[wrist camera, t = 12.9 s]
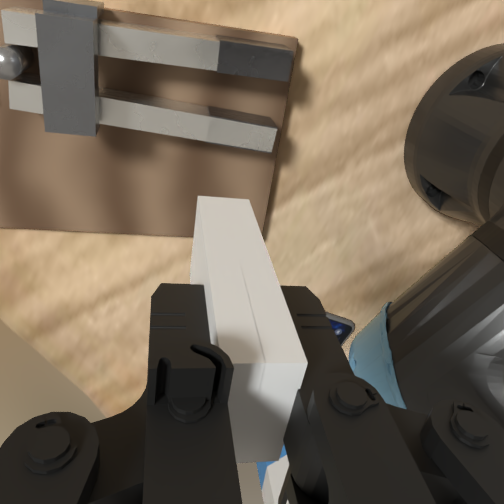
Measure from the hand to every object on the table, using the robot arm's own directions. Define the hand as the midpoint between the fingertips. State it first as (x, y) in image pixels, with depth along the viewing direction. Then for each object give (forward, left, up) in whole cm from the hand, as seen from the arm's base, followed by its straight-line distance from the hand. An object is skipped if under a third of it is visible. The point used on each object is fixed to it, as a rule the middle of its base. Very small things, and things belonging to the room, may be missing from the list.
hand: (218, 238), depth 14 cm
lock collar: (+7, -1, -23) cm, 24 cm away
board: (+4, +5, -25) cm, 25 cm away
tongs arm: (+3, +1, -23) cm, 23 cm away
